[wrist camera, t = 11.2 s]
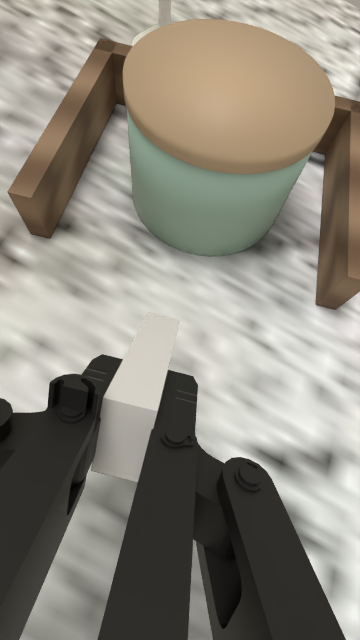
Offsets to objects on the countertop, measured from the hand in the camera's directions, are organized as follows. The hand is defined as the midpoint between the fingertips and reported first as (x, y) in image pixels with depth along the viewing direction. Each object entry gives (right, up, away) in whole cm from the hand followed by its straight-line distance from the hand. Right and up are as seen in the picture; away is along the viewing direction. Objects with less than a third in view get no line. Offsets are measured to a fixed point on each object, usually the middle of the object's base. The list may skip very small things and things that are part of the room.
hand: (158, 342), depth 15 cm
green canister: (+3, +11, +11) cm, 16 cm away
